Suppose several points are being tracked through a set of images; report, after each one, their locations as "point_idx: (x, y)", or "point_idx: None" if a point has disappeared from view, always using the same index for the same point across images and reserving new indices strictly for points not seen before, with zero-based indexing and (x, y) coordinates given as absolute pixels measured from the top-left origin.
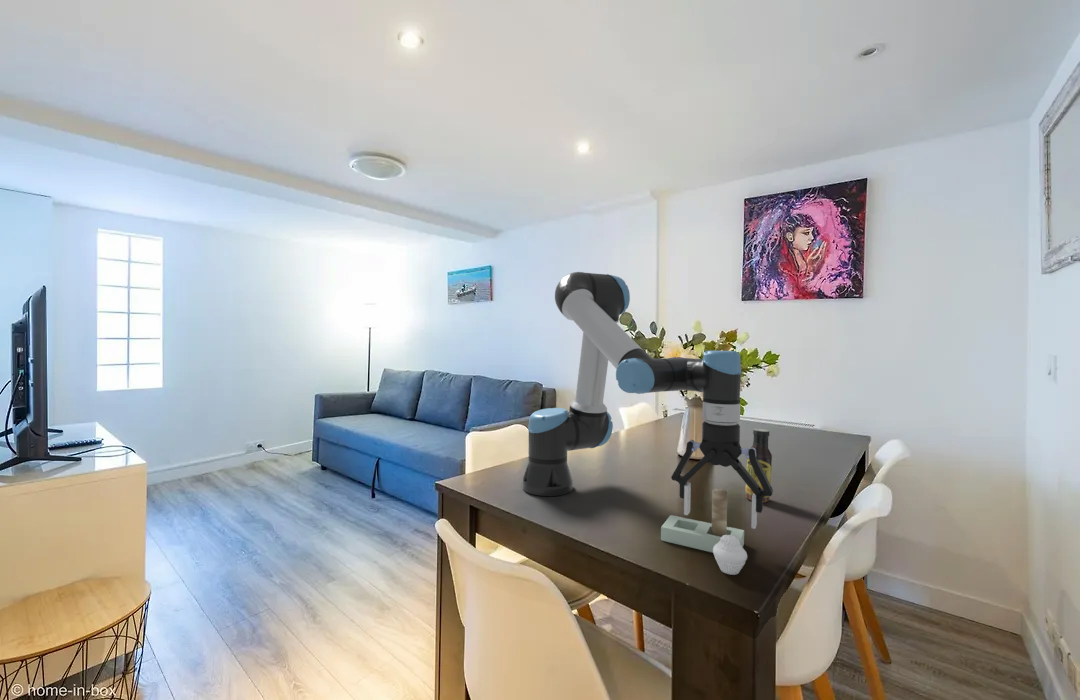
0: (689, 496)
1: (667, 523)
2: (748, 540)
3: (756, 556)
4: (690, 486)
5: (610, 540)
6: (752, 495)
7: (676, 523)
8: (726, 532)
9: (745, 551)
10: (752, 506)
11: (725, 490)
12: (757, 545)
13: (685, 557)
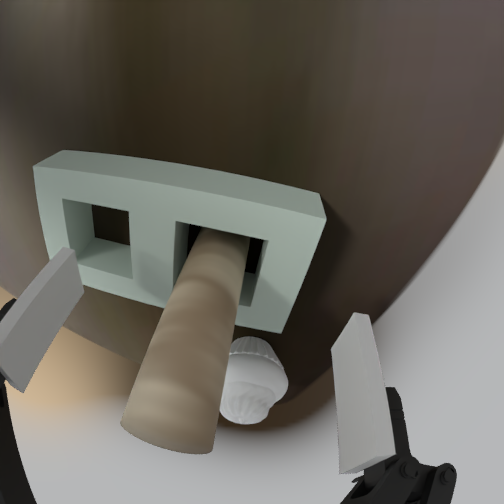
0: (37, 321)
1: (53, 245)
2: (344, 155)
3: (338, 273)
4: (5, 344)
5: (19, 277)
6: (354, 467)
7: (68, 221)
8: (243, 276)
9: (284, 390)
10: (340, 433)
11: (198, 439)
12: (367, 192)
13: (151, 317)
